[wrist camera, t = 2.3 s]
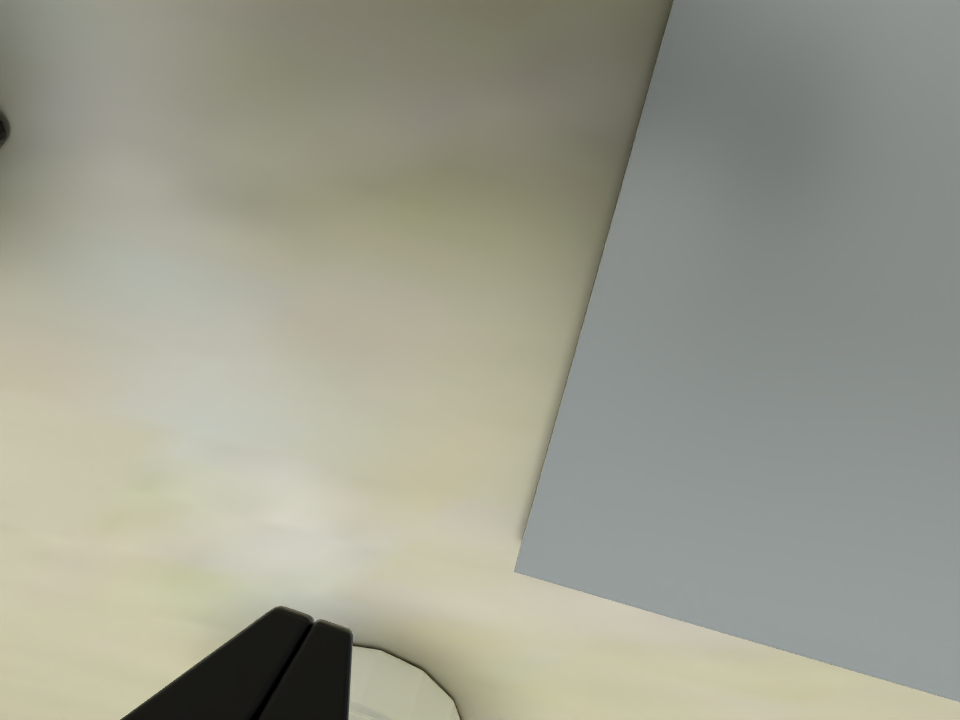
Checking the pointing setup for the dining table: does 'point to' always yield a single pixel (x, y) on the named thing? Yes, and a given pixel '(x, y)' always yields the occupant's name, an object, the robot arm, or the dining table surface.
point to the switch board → (778, 344)
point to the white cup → (394, 690)
